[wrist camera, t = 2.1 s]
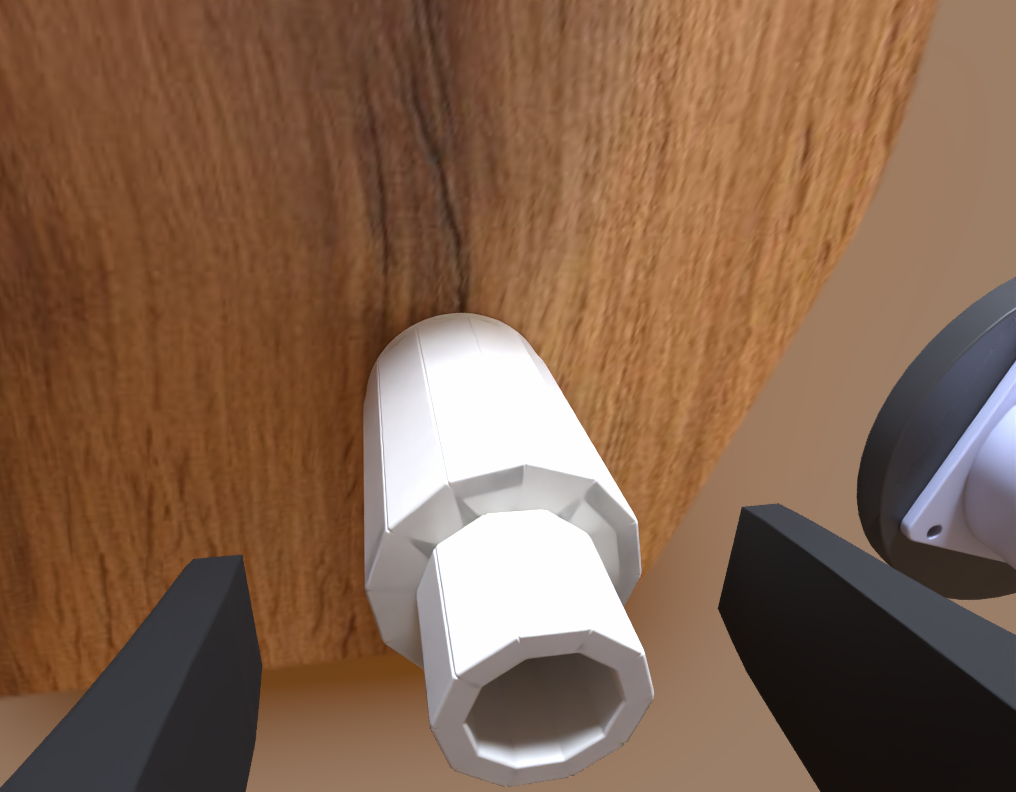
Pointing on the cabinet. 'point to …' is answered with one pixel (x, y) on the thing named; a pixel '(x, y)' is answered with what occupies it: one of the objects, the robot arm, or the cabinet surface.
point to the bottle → (499, 554)
